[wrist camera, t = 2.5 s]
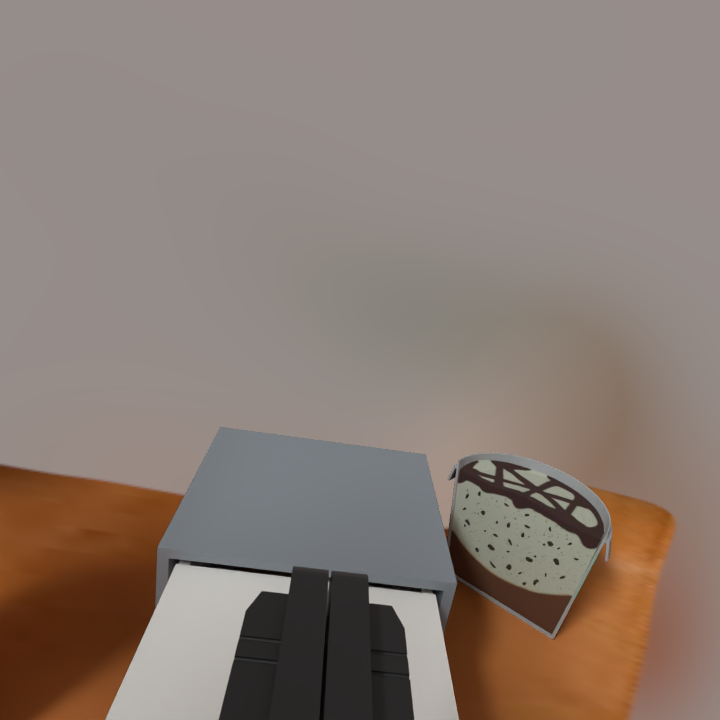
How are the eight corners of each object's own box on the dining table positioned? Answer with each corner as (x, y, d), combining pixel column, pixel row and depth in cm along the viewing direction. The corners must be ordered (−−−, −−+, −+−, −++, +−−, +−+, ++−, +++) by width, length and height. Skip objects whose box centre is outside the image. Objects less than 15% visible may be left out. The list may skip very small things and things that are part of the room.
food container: (598, 607, 43) (638, 501, 40) (573, 652, 39) (617, 536, 35) (462, 531, 50) (487, 434, 47) (427, 561, 45) (452, 456, 42)
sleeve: (423, 711, 33) (457, 583, 29) (152, 682, 32) (157, 547, 28) (403, 554, 46) (425, 454, 43) (212, 531, 45) (220, 427, 42)
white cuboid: (435, 951, 22) (478, 824, 19) (78, 922, 21) (75, 786, 18) (394, 546, 45) (411, 464, 43) (224, 525, 44) (231, 441, 42)
